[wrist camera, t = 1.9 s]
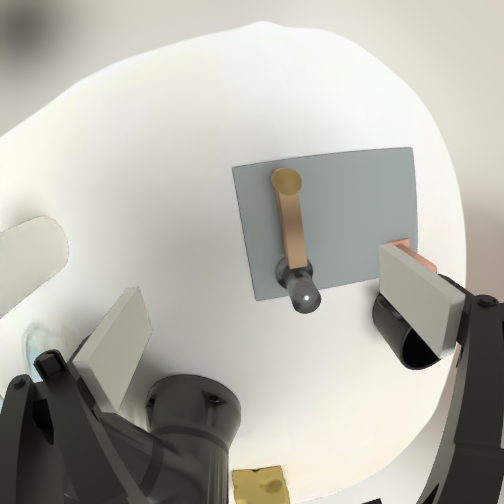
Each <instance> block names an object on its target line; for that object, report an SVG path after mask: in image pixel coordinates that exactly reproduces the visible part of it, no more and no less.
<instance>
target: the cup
mask: <svg viewBox="0 0 504 504" xmlns="http://www.w3.org/2000/svg"><path fill="white" fill-rule="evenodd" d="M68 252H69V250H68V242H67V239H66V236H65V234H64V232H63V230H62V228H61V227H60V226H59V224H58V223H57V222H56V221H54V220H53V219H51V218H49V217H46V216H40V217H37V218H34V219H32V220H29V221H27V222H24V223H22V224H19V225H17V226H14V227H12V228H10V229H7V230H5V231H3V232H1V233H0V319H1V318H2V317H3V316H4V315H6V314H7V313H8V312H9V311H10V310H12V309H13V308H14V307H15V306H16V305H18V304H19V303H20V302H21V301H22V300H24V299H25V298H26V297H27V296H29V295H30V294H31V293H32V292H34V291H35V290H36V289H37V288H39V287H40V286H41V285H43V284H44V283H45V282H46V281H48V280H49V279H50V278H52V277H53V276H54V275H56V274H57V273H58V272H60V271H61V270H62V269H63V268H64V267H65V265H66V263H67V260H68Z"/></svg>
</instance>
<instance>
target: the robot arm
mask: <svg viewBox="0 0 504 504" xmlns="http://www.w3.org/2000/svg"><path fill="white" fill-rule="evenodd" d="M379 291H380V292H381V294H382V295H383V296H384V297H385V298H386V299H387V300H388V301H389V302H390V303H391V304H392V305H393V306H394V308H395V309H396V310H397V311H398V312H399V313H400V314H401V315H402V316H403V317H404V319H405V320H406V321H407V322H408V323H409V324H410V325H411V326H412V328H413V329H414V330H415V331H416V332H417V333H418V334H419V335H420V337H421V338H422V339H423V340H424V341H425V342H426V344H427V345H428V346H429V347H430V348H431V349H432V351H433V352H434V353H435V354H436V355H437V356H438V358H439V359H441V358H443V357H446V356H448V355H451V354H453V353H454V350H455V346H456V341H457V342H458V343H459V344H460V345H461V350H460V354H459V358H458V361H457V365H456V367H458V368H457V374H456V380H455V386H454V391H453V396H452V400H451V405H450V410H449V413H448V417H447V421H446V425H445V429H444V432H443V436H442V440H441V443H440V446H439V449H438V452H437V456H436V459H435V461H434V464H433V467H432V470H431V473H430V475H429V478H428V481H427V483H426V486H425V488H424V490H423V492H422V494H421V496H420V498H419V499H418V501H417V503H416V504H497V503H498V499H499V495H500V490H501V486H502V481H503V476H504V449H502V448H501V446H500V445H501V436H502V427H503V416H504V303H499V302H498V300H497V299H495V298H494V297H492V296H489V295H477V296H474V295H473V294H471V293H470V292H468V291H467V290H466V289H464V288H463V287H462V286H460V285H459V284H457V283H455V281H453V280H452V279H450V278H449V277H447V276H444V275H441V274H436V273H435V272H433V271H432V270H430V269H429V268H427V267H426V266H424V265H423V264H422V263H420V262H419V261H417V260H416V259H414V258H413V257H411V256H410V255H408V254H407V253H405V252H404V251H402V250H401V249H399V248H398V247H396V246H394V245H393V244H391V243H390V244H385V245H380V246H379ZM152 331H153V327H152V325H151V322H150V319H149V316H148V314H147V311H146V308H145V305H144V302H143V299H142V296H141V293H140V290H139V287H134V288H127V289H126V290H125V291H124V292H123V294H122V295H121V296H120V297H119V299H118V300H117V301H116V303H115V304H114V305H113V306H112V308H111V309H110V310H109V312H108V313H107V314H106V316H105V317H104V318H103V320H102V321H101V322H100V324H99V325H98V326H97V328H96V329H95V330H94V332H93V333H92V334H90V335H89V336H88V337H86V338H85V339H84V340H83V341H82V343H81V344H80V345H79V347H78V348H77V350H76V351H75V352H74V354H73V355H72V356H71V358H70V359H69V361H68V362H67V363H65V361H64V359H63V357H62V355H61V353H60V352H59V351H58V350H55V349H54V350H48V351H45V352H44V353H42V354H40V355H39V356H38V357H37V358H36V359H35V361H34V366H35V368H36V370H37V371H38V373H39V375H40V376H41V378H42V380H43V381H42V382H37V383H34V382H33V381H32V379H31V378H30V376H29V375H27V374H23V375H19V376H16V377H15V378H13V379H12V381H11V382H10V383H9V385H8V388H7V391H6V395H5V398H4V402H3V406H2V410H1V414H0V504H229V499H228V455H229V448H230V446H231V443H232V441H233V439H234V437H235V435H236V432H237V430H238V428H239V426H240V422H241V407H240V404H239V401H238V399H237V398H236V396H235V395H234V394H233V393H232V392H231V391H230V390H229V389H227V388H226V387H224V386H223V385H221V384H219V383H217V382H215V381H213V380H210V379H207V378H203V377H199V376H192V375H177V376H171V377H167V378H164V379H162V380H160V381H158V382H157V383H155V384H154V385H153V386H152V388H151V389H150V391H149V393H148V396H147V399H146V403H145V412H146V421H147V429H148V432H147V431H145V430H143V429H141V428H140V427H138V426H136V425H134V424H133V423H131V422H129V421H128V420H126V419H124V418H123V417H121V416H120V415H118V414H116V413H118V410H119V408H120V405H121V403H122V400H123V398H124V396H125V393H126V391H127V388H128V386H129V384H130V381H131V379H132V377H133V374H134V372H135V370H136V367H137V365H138V363H139V360H140V358H141V356H142V354H143V351H144V349H145V347H146V345H147V342H148V340H149V338H150V336H151V334H152ZM363 504H382V502H381V500H380V498H379V499H376V500H372V501H369V502H366V503H363Z"/></svg>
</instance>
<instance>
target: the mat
mask: <svg viewBox="0 0 504 504" xmlns="http://www.w3.org/2000/svg"><path fill="white" fill-rule="evenodd" d="M278 168H286V169H293V170H295V171H296V172H297V173H298V174H299V175H300V177H301V179H302V186H301V188H300V190H299V191H298V194H299V201H300V208H301V216H302V223H303V231H304V240H305V248H306V257H307V259H308V260H309V261H310V263H311V265H312V267H313V277H312V281H313V282H314V284H315V286H316V288H317V290H321V289H326V288H331V287H336V286H341V285H346V284H351V283H356V282H361V281H365V280H370V279H375V278H379V246H380V245H385V244H387V242H390V241H395V240H401V239H406V238H408V239H409V249H411V250H413V251H414V252H416V253H417V240H418V230H417V196H416V180H415V167H414V157H413V148H395V149H379V150H365V151H353V152H343V153H333V154H324V155H315V156H307V157H299V158H291V159H284V160H277V161H270V162H264V163H258V164H251V165H245V166H240V167H234V168H232V169H233V175H234V181H235V186H236V192H237V197H238V203H239V209H240V214H241V220H242V225H243V231H244V236H245V242H246V247H247V253H248V258H249V264H250V269H251V275H252V280H253V286H254V291H255V297H256V301H260V300H266V299H272V298H278V297H283V296H289V292H288V290H287V289H285V288H283V287H282V286H281V285H280V284H279V283H278V281H277V278H276V267H277V265H278V263H279V262H280V260H281V259H283V258H284V257H285V252H284V244H283V237H282V230H281V224H280V217H279V210H278V204H277V197H276V191H275V187H274V186H273V185H272V183H271V176H272V173H273V172H272V171H275V170H276V169H278Z"/></svg>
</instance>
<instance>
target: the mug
mask: <svg viewBox="0 0 504 504" xmlns="http://www.w3.org/2000/svg"><path fill="white" fill-rule="evenodd" d="M373 319H374V323H375V326H376V327H377V329H378V330H379V332H380V333H381V335H382V336H383V337H384V339H385V340H386V342H387V343H388V344H389V346H390V347H391V349H392V350H393V352H394V353H395V354H396V356H397V357H398V359H399V360H400V362H401V363H402V364H403V365H404V366H405V367H406V368H408V369H411V370H421V369H425V368H428V367H430V366H432V365H434V364H435V363H437V362H438V361H440V360H441V359H442V358H441V359H439V358H438V356H437V355H436V354H435V353H434V352H433V351H432V349H431V348H430V347H429V346H428V345H427V344H426V342H425V341H424V340H423V339H422V338H421V337H420V335H419V334H418V333H417V332H416V331H415V330H414V329H413V328H412V326H411V325H410V324H409V323H408V322H407V321H406V320H405V319H404V317H403V316H402V315H401V314H400V313H399V312H398V311H397V310H396V309H395V308H394V306H393V305H392V304H391V303H390V302H389V301H388V300H387V299H386V298H385V297H384V296H383V295H382V294H381V293H380V295H379V296H378V298H377V300H376V302H375V306H374V310H373Z"/></svg>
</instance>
